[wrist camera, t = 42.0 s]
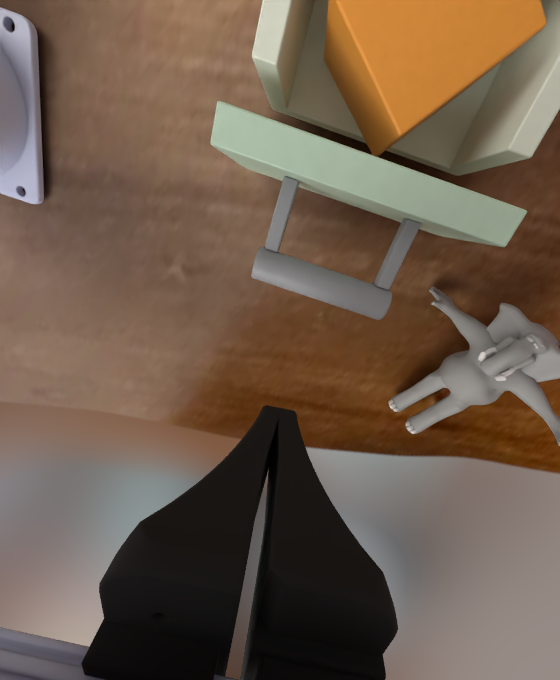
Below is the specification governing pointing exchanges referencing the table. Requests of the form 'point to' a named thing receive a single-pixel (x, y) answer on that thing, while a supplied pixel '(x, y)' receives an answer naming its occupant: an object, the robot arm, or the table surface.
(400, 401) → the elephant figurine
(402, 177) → the drawer
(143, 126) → the table surface
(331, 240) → the table surface
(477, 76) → the orange cube
